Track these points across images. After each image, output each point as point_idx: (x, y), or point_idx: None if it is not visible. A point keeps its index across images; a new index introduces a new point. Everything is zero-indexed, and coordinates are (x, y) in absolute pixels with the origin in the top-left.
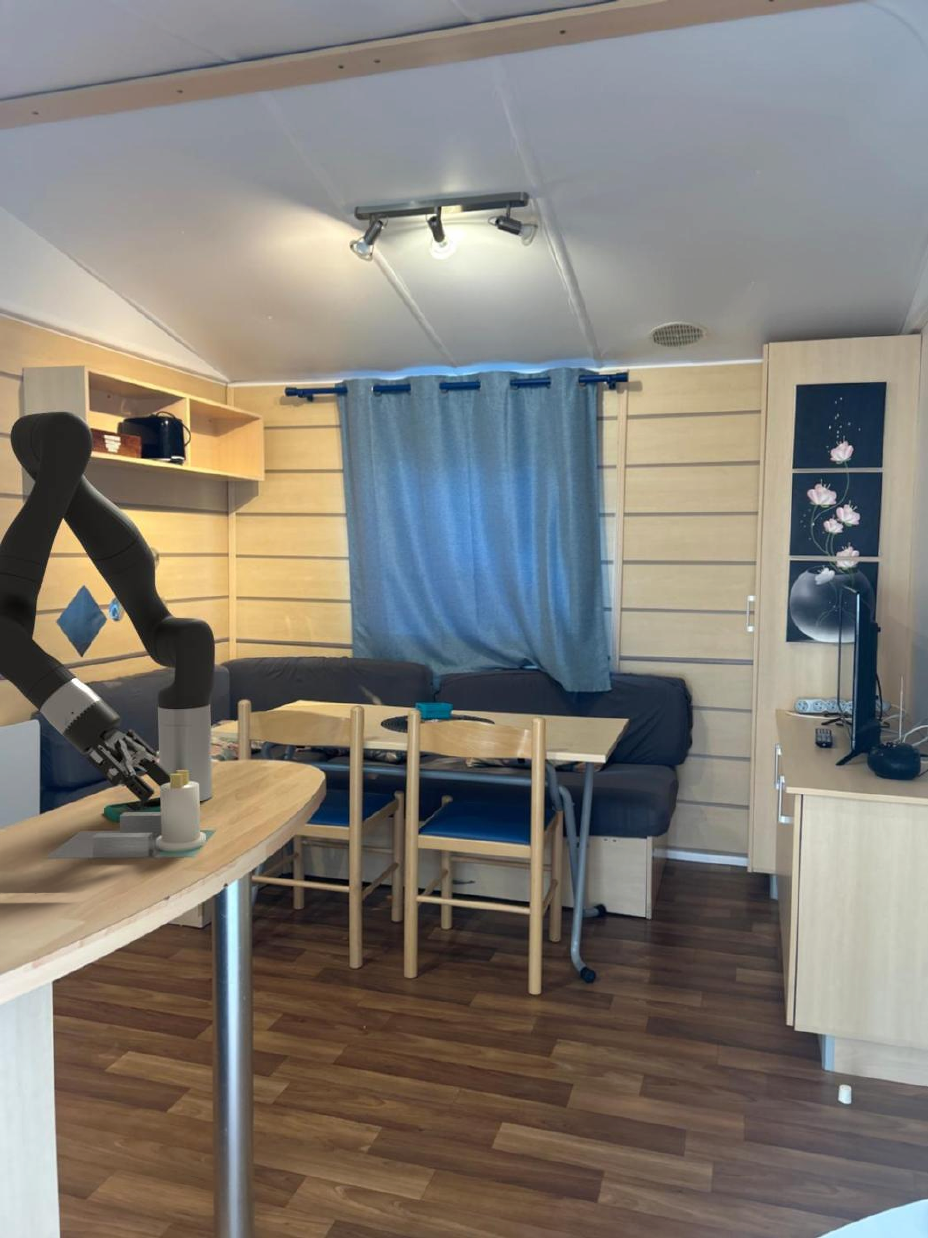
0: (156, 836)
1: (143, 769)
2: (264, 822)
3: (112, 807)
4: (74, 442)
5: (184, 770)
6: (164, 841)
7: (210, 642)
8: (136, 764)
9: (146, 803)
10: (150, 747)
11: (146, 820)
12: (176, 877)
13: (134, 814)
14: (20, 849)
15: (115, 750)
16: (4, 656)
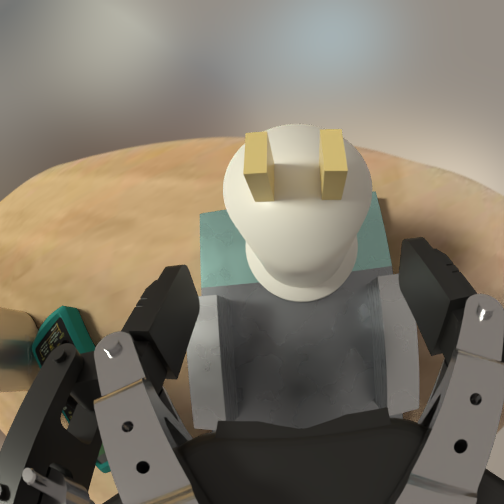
0: (248, 329)
1: (165, 391)
2: (131, 174)
3: (97, 460)
4: None
5: (253, 144)
6: (339, 267)
7: None
8: (181, 425)
9: (71, 404)
10: (36, 382)
11: (224, 361)
12: (436, 202)
13: (212, 398)
14: None
15: (495, 487)
16: None
